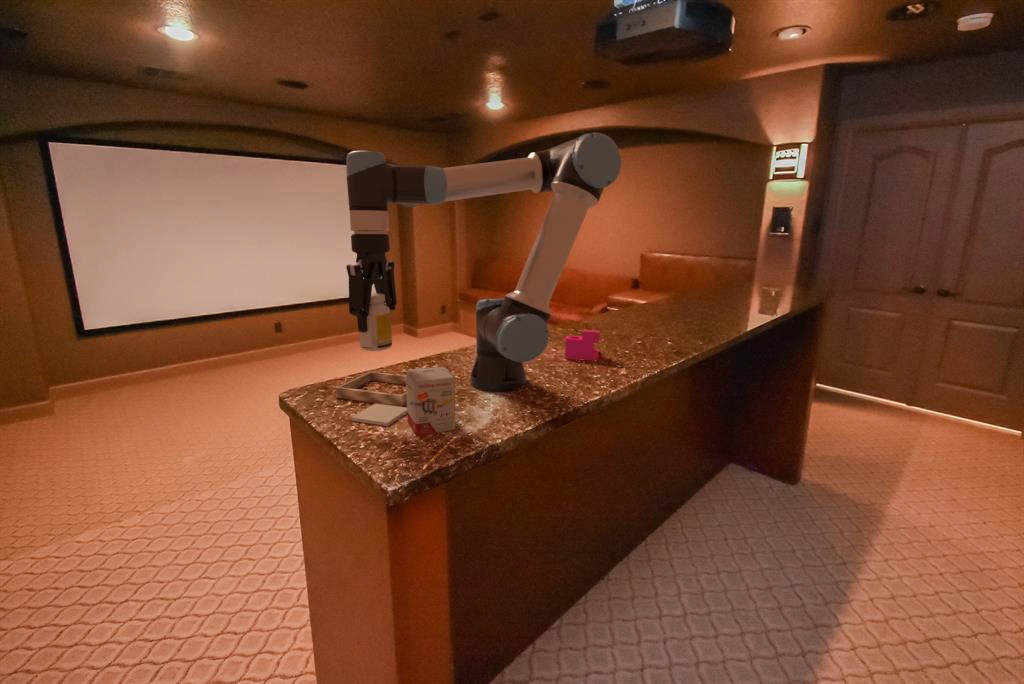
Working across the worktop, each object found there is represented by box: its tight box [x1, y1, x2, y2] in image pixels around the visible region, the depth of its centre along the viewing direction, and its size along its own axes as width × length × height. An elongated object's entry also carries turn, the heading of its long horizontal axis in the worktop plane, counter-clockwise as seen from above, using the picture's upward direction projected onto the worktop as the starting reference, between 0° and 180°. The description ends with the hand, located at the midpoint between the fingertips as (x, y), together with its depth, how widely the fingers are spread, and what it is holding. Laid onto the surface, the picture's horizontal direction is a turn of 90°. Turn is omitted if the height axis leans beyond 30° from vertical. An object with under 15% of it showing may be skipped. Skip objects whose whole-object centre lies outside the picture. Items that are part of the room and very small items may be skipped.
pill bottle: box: [361, 292, 393, 352], centre depth 101 cm, size 6×6×12 cm
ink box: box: [405, 366, 456, 436], centre depth 100 cm, size 9×9×12 cm
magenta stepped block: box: [564, 329, 600, 361], centre depth 154 cm, size 12×10×10 cm
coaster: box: [350, 403, 407, 427], centre depth 106 cm, size 9×9×1 cm
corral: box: [334, 371, 407, 407], centre depth 121 cm, size 19×15×2 cm
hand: (376, 342), depth 102 cm, fingers closed on pill bottle, 6 cm apart
